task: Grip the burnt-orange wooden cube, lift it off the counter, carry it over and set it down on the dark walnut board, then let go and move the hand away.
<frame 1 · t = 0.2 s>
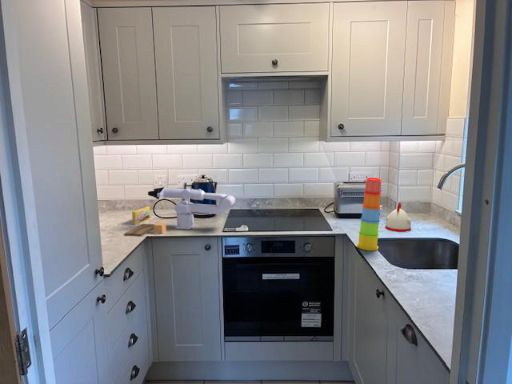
hand: (151, 191, 224), 21 cm above the worktop, tool horizontal, fingers open, 7 cm apart
cream dome: (397, 229, 217), on the worktop
walnut board: (142, 230, 218), on the worktop
orange cube: (160, 232, 215), on the worktop
candy box: (141, 221, 239), on the worktop
stacking cups: (367, 247, 185), on the worktop
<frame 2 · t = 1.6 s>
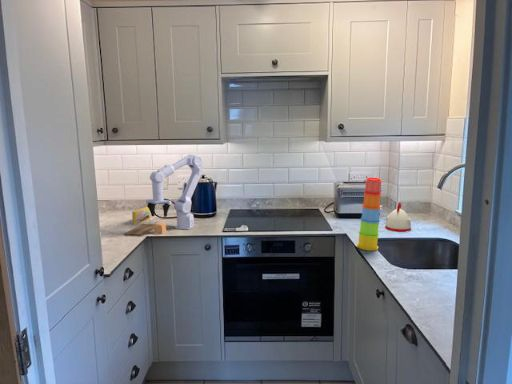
hand: (159, 216, 213), 9 cm above the worktop, tool pointing down, fingers open, 7 cm apart
nothing on the worktop moved.
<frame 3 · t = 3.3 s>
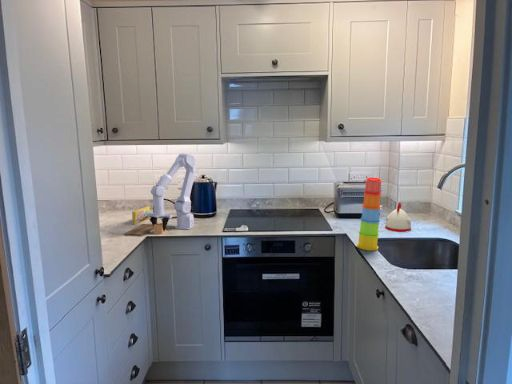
hand: (160, 229, 214), 1 cm above the worktop, tool pointing down, fingers closed on orange cube, 5 cm apart
orange cube: (160, 232, 215), on the worktop, touching gripper
everything else where it was.
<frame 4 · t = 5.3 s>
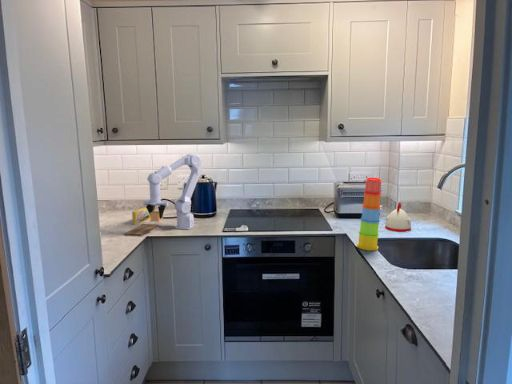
hand: (156, 217, 213), 8 cm above the worktop, tool pointing down, fingers closed on orange cube, 5 cm apart
orange cube: (156, 220, 214), point 7 cm above the worktop, touching gripper
everything else where it was.
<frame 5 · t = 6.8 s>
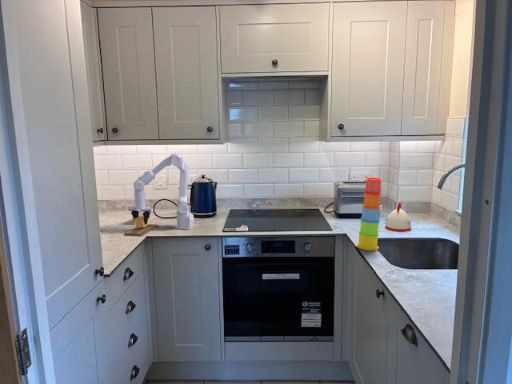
hand: (141, 223, 217), 4 cm above the worktop, tool pointing down, fingers closed on orange cube, 5 cm apart
orange cube: (141, 225, 218), point 3 cm above the worktop, touching gripper
everything else where it was.
when the fingers open (4 cm above the worktop, at t = 7.7 s): orange cube drops 1 cm, resting on walnut board.
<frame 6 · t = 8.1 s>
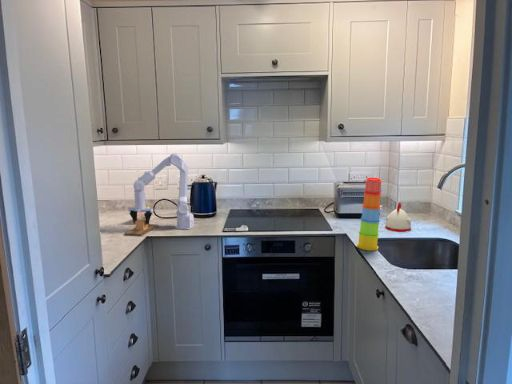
hand: (141, 223, 217), 4 cm above the worktop, tool pointing down, fingers open, 7 cm apart
orange cube: (141, 228, 218), point 1 cm above the worktop, touching walnut board
everything else where it was.
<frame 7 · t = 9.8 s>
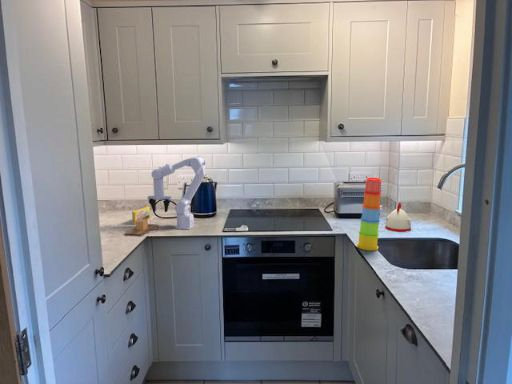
hand: (160, 211, 224), 9 cm above the worktop, tool pointing down, fingers open, 7 cm apart
nothing on the worktop moved.
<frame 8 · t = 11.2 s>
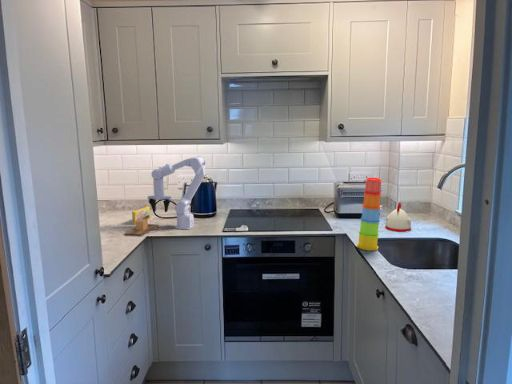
hand: (160, 211, 224), 9 cm above the worktop, tool pointing down, fingers open, 7 cm apart
nothing on the worktop moved.
at the end: orange cube inside the target area on the walnut board (0.0 cm from its centre), point 1.2 cm above the walnut board's base; orange cube tilted 0°; the gripper is holding nothing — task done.
